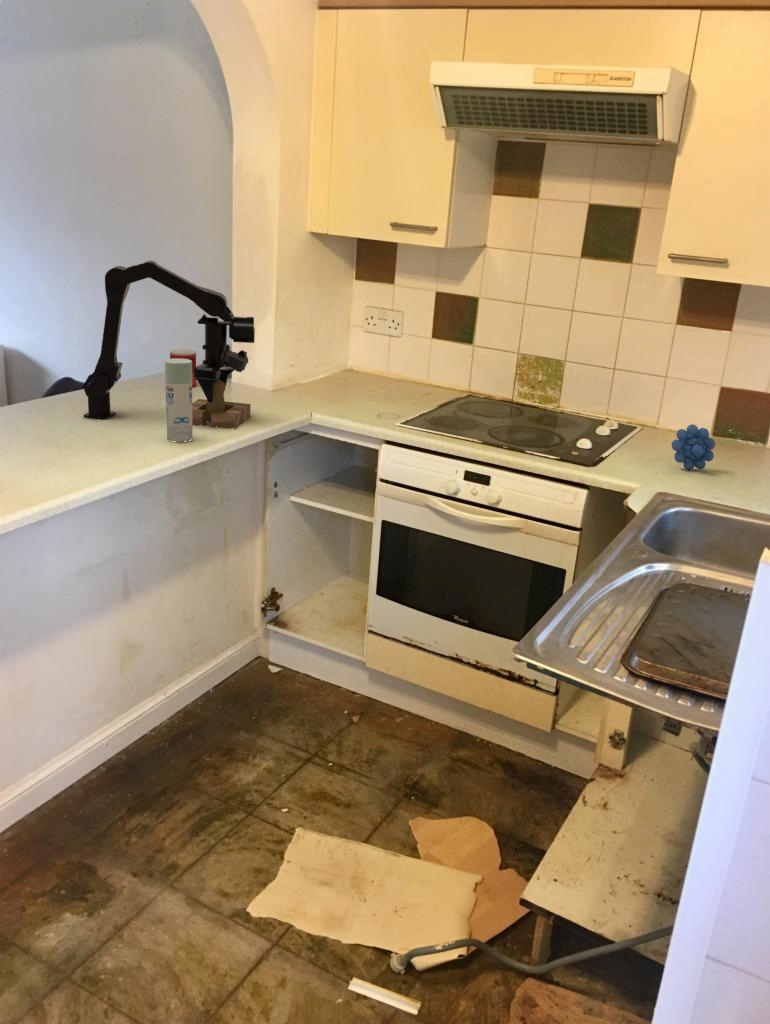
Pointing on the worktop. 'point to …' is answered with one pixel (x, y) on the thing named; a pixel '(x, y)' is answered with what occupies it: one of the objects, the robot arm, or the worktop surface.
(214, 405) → the cork
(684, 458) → the blue knobbed flower
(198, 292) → the robot arm
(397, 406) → the worktop surface
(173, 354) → the canned food
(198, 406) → the socket block
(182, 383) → the spray paint can
